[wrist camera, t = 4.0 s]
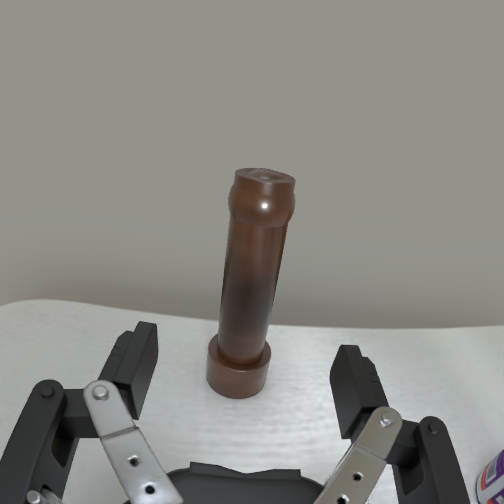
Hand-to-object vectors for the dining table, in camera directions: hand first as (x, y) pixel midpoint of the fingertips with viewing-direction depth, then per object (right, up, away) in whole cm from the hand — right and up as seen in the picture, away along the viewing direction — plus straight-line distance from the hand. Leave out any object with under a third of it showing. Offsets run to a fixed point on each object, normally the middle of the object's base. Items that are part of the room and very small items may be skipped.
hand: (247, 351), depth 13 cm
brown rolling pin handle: (-1, -5, +10) cm, 11 cm away
